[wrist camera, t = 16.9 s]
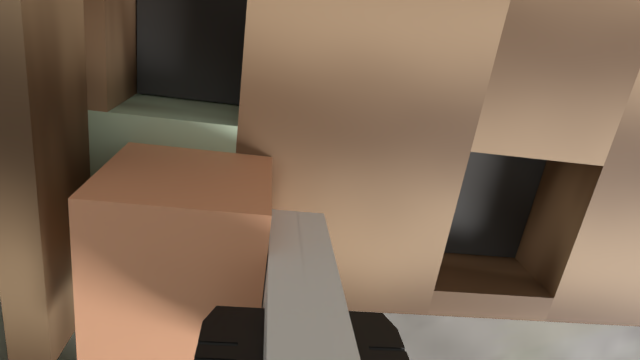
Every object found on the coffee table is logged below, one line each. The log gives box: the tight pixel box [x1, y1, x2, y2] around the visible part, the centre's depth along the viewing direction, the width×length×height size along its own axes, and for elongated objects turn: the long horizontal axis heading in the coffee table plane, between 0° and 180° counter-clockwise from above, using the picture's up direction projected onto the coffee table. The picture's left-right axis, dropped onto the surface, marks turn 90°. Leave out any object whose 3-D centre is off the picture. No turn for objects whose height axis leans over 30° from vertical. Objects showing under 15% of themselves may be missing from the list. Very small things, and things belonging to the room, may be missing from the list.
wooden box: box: [0, 0, 640, 360], centre depth 14 cm, size 12×22×6 cm, turn 82°
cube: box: [68, 142, 272, 360], centre depth 12 cm, size 4×4×4 cm
